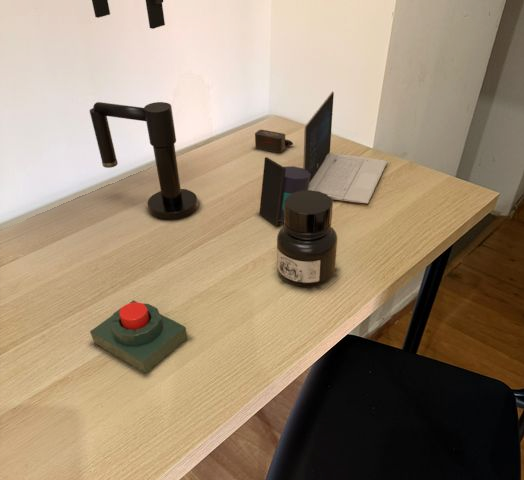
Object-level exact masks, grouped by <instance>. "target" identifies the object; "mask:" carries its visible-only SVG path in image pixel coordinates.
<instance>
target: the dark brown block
mask: <svg viewBox="0 0 524 480" xmlns="http://www.w3.org/2000/svg"><path fill="white" fill-rule="evenodd" d="M254 145H255V148H256V149H258V150H264V151H268V152H273V153H279V154H280V153H282V152H283V151H284V150H285V149H286V148H290V147H291V146H293V145H294V142H293V141H292V140H290V139H286V134H285V133H282V132H278V131H272V130H268V129H267V130H266V129H259V130H257V131H256V132H255V133H254Z"/></svg>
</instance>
